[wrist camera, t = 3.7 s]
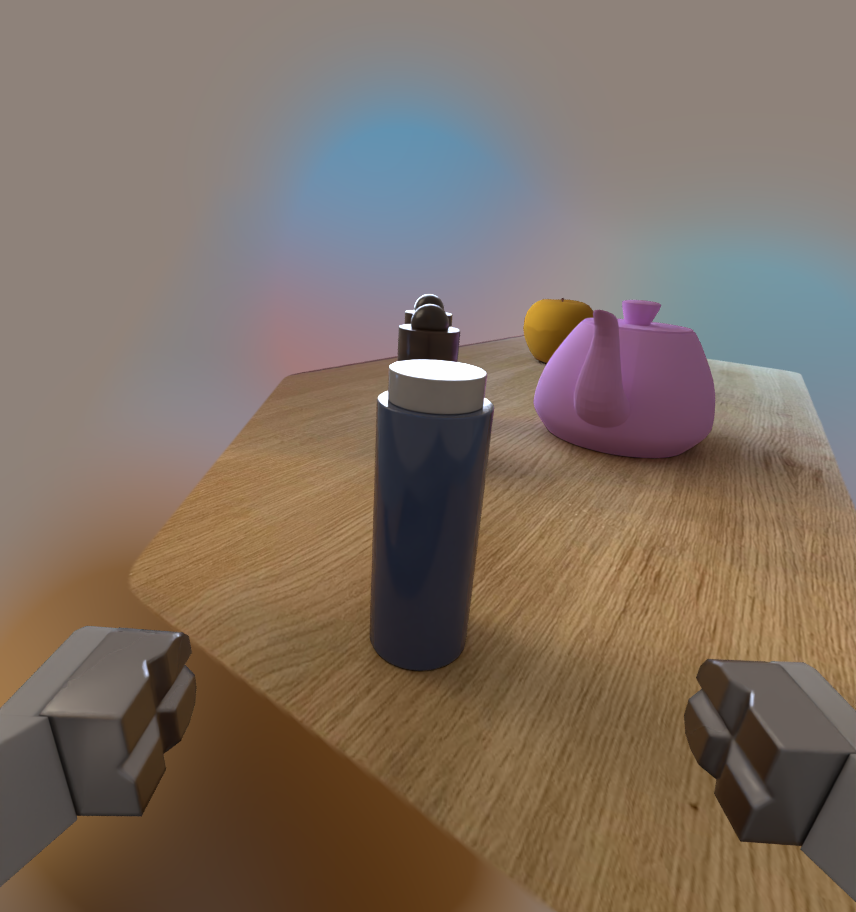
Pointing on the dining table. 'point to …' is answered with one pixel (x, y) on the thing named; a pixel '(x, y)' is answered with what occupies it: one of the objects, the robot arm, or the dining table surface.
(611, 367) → the teapot
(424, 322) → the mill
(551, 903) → the dining table surface
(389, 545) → the blue shaker
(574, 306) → the apple
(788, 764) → the robot arm
